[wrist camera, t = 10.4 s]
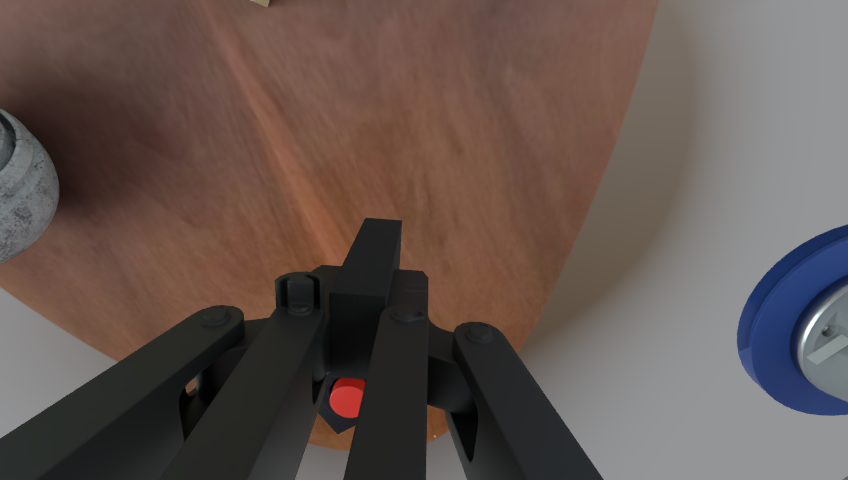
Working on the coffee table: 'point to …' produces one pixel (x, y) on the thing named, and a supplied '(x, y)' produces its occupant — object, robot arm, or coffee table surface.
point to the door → (262, 2)
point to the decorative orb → (24, 188)
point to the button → (347, 396)
